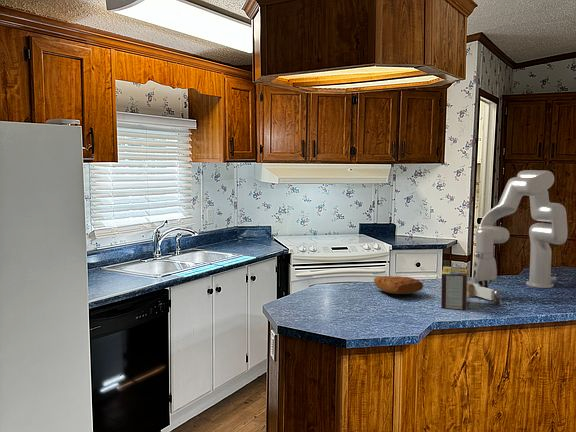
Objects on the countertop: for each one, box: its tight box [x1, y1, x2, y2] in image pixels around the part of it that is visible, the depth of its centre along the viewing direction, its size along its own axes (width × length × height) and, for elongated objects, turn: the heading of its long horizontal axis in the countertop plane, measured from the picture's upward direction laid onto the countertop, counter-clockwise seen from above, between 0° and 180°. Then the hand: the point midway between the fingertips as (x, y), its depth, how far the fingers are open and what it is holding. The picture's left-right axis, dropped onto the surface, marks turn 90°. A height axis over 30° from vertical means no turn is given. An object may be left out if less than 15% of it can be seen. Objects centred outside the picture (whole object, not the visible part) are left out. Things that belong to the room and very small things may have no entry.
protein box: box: [440, 266, 468, 311], centre depth 227 cm, size 10×15×16 cm
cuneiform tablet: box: [373, 275, 424, 295], centre depth 247 cm, size 22×17×8 cm
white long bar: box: [473, 283, 495, 301], centre depth 237 cm, size 14×2×5 cm, turn 24°
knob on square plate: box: [488, 289, 506, 307], centre depth 228 cm, size 5×5×6 cm
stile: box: [467, 283, 474, 298], centre depth 241 cm, size 3×3×6 cm
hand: (484, 294), depth 240 cm, fingers closed
